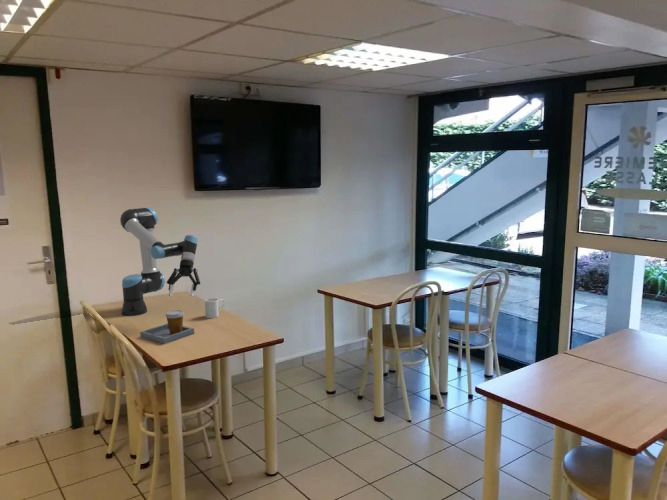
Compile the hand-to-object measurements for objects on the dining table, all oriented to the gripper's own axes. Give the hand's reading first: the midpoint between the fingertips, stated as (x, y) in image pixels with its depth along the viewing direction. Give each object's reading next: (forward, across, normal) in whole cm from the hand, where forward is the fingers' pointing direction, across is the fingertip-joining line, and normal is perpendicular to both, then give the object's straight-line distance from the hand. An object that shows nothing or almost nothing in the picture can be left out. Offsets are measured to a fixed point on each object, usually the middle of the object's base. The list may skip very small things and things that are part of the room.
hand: (181, 296), depth 302 cm
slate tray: (+24, +1, +4) cm, 24 cm away
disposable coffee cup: (+22, -3, +3) cm, 23 cm away
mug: (+4, -8, -30) cm, 31 cm away
